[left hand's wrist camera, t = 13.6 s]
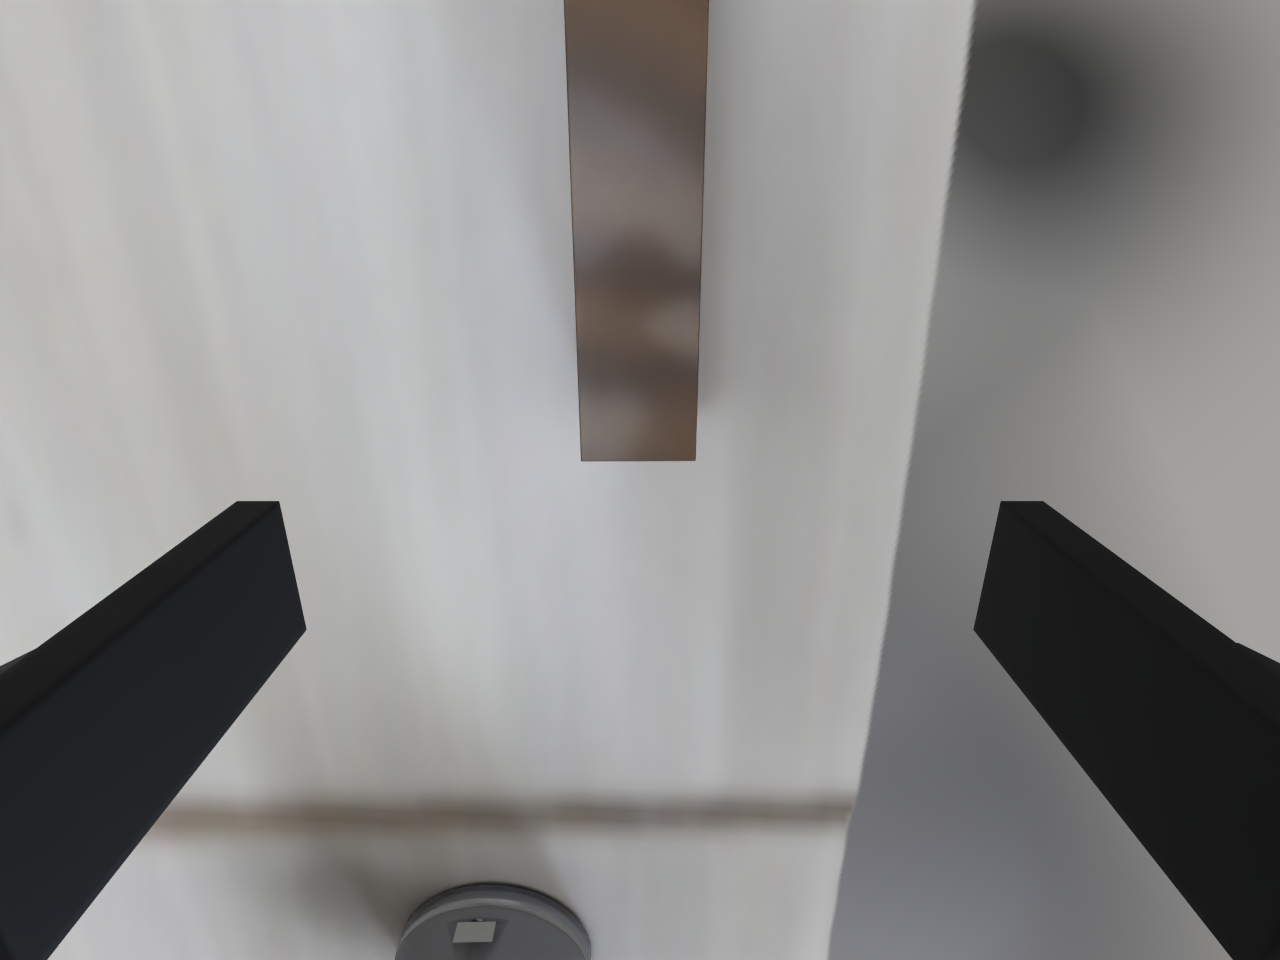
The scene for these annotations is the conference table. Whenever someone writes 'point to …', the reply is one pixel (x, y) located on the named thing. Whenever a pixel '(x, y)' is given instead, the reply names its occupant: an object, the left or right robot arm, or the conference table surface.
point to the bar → (637, 221)
